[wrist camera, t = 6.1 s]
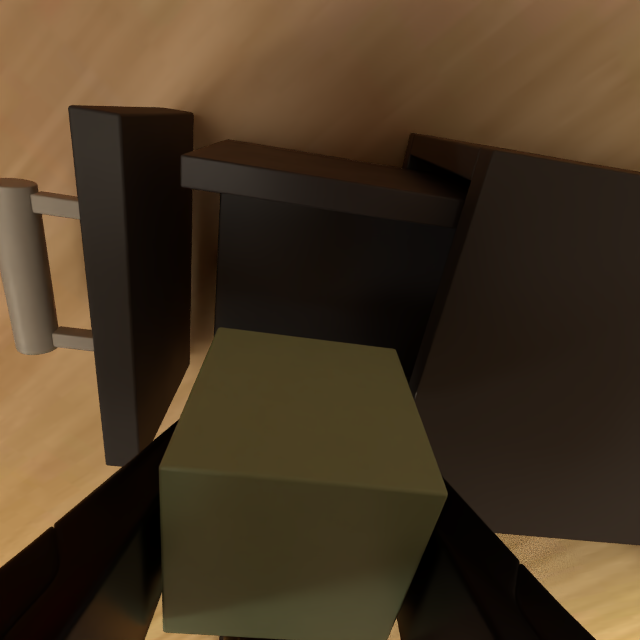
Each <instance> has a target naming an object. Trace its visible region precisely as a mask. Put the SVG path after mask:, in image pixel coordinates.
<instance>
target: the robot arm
mask: <svg viewBox="0 0 640 640" xmlns="http://www.w3.org/2000/svg"><path fill="white" fill-rule="evenodd" d="M178 421H179V420H178ZM178 421H176V422H175V423H174V424H173V425H172V426H170V427H169V428H168V429H167V430H166V431H164V432H163V433H162V434H161V435H160V436H159V437H157V438H156V439H155V440H154V441H153V442H151V443H150V444H149V445H148V446H147V447H145V448H144V449H143V450H142V451H141V452H139V453H138V454H137V455H136V456H135V457H134V458H132V459H131V460H130V461H129V462H128V463H126V464H125V465H124V466H123V467H122V468H120V469H119V470H118V471H117V472H116V473H114V474H113V475H112V476H111V477H110V478H108V479H107V480H106V481H105V482H104V483H103V484H101V485H100V486H99V487H98V488H97V489H95V490H94V491H93V492H92V493H91V494H89V495H88V496H87V497H86V498H85V499H83V500H82V501H81V502H80V503H79V504H77V505H76V506H75V507H74V508H73V509H72V510H70V511H69V512H68V513H67V514H66V515H64V516H63V517H62V518H61V519H60V520H58V521H57V522H56V523H55V524H54V527H50V528H49V529H47V530H46V531H45V532H44V533H43V534H41V535H40V536H39V537H38V538H37V539H35V540H34V541H33V542H32V543H31V544H29V545H28V546H27V547H26V548H24V549H23V550H22V551H21V552H19V553H18V554H17V555H16V556H14V557H13V558H12V559H11V560H10V561H8V562H7V563H6V564H5V565H3V566H2V567H1V568H0V640H145V637H146V634H147V632H148V629H149V626H150V623H151V621H152V618H153V615H154V612H155V610H156V607H157V604H158V601H159V599H160V596H161V593H162V568H161V529H160V490H159V466H160V463H161V461H162V459H163V456H164V454H165V452H166V449H167V447H168V444H169V442H170V440H171V437H172V435H173V433H174V430H175V428H176V426H177V423H178ZM441 476H442V475H441ZM442 479H443V481H444V484H445V487H446V490H447V493H448V495H447V499H446V501H445V503H444V506H443V508H442V511H441V513H440V515H439V518H438V520H437V522H436V525H435V527H434V530H433V532H432V534H431V537H430V539H429V541H428V544H427V546H426V549H425V551H424V553H423V556H422V558H421V560H420V563H419V565H418V568H417V570H416V572H415V575H414V577H413V579H412V582H411V584H410V587H409V589H408V591H407V594H406V596H405V599H404V601H403V603H402V606H401V608H400V610H399V613H398V615H397V621H398V627H399V633H400V638H401V640H596V639H595V638H594V637H593V636H592V635H591V634H590V633H589V632H588V631H587V630H586V629H585V628H584V627H583V626H582V625H581V624H580V623H579V622H578V621H577V620H575V619H574V618H573V617H572V616H571V615H570V614H569V613H568V612H567V611H566V610H565V609H564V608H563V607H562V606H561V604H560V603H559V602H558V601H557V600H556V599H555V598H554V597H553V596H552V595H551V594H550V593H549V592H548V591H547V590H546V589H545V588H544V587H543V586H542V584H541V583H540V582H539V581H538V580H537V579H536V578H535V577H534V576H533V575H532V574H531V573H530V571H529V570H528V569H527V568H526V567H525V566H524V565H523V564H519V563H520V562H519V560H518V559H517V557H516V556H515V555H514V554H513V553H512V552H511V551H510V550H509V549H508V548H507V546H506V545H505V544H504V543H503V542H502V541H501V540H500V539H499V538H498V537H497V536H496V534H495V533H494V532H493V531H492V530H491V529H490V528H489V527H488V526H487V525H486V523H485V522H484V521H483V520H482V519H481V518H480V517H479V516H478V515H477V514H476V513H475V511H474V510H473V509H472V508H471V507H470V506H469V505H468V504H467V503H466V502H465V501H464V499H463V498H462V497H461V496H460V495H459V494H458V493H457V492H456V491H455V490H454V488H453V487H452V486H451V485H450V484H449V483H448V482H447V481H446V480H445V479H444V478H443V476H442ZM219 640H286V639H269V638H252V637H235V636H219Z"/></svg>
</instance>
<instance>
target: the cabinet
mask: <svg viewBox="0 0 640 640" xmlns="http://www.w3.org/2000/svg"><path fill="white" fill-rule="evenodd" d="M402 168H404V169H410V170H416V171H422V172H428V173H434V174H440V175H446V176H453V177H459V178H465V179H468V180H471V183H470V186H469V190H468V193H467V196H466V199H465V203H464V206H463V209H462V212H461V216H460V219H459V222H458V225H457V229H456V232H455V235H454V238H453V242H452V245H451V248H450V251H449V255H448V258H447V261H446V264H445V268H444V271H443V274H442V278H441V281H440V284H439V287H438V291H437V294H436V297H435V300H434V304H433V307H432V310H431V313H430V317H429V320H428V323H427V326H426V330H425V333H424V336H423V339H422V343H421V346H420V349H419V352H418V356H417V359H416V362H415V365H414V369H413V372H412V375H411V379H410V382H409V388H410V390H411V393H412V396H413V399H414V401H415V404H416V407H417V410H418V412H419V415H420V418H421V421H422V424H423V426H424V429H425V432H426V435H427V437H428V440H429V443H430V446H431V448H432V451H433V454H434V457H435V459H436V462H437V465H438V468H439V470H440V473H441V475H442V476H443V478H444V479H445V480H446V481H447V482H448V483H449V484H450V485H451V486H452V487H453V488H454V490H455V491H456V492H457V493H458V494H459V495H460V496H461V497H462V498H463V499H464V501H465V502H466V503H467V504H468V505H469V506H470V507H471V508H472V509H473V510H474V511H475V513H476V514H477V515H478V516H479V517H480V518H481V519H482V520H483V521H484V522H485V523H486V525H487V526H488V527H489V528H490V529H491V530H492V531H493V532H494V533H501V534H513V535H524V536H536V537H548V538H559V539H571V540H583V541H594V542H606V543H618V544H629V545H640V172H636V171H630V170H625V169H619V168H613V167H607V166H602V165H596V164H590V163H584V162H579V161H573V160H567V159H561V158H556V157H550V156H544V155H538V154H533V153H527V152H521V151H515V150H509V149H504V148H498V147H492V146H486V145H481V144H475V143H469V142H463V141H458V140H452V139H446V138H440V137H435V136H429V135H423V134H417V133H411V134H410V137H409V141H408V146H407V150H406V154H405V159H404V163H403V167H402Z"/></svg>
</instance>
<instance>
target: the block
mask: <svg viewBox="0 0 640 640" xmlns="http://www.w3.org/2000/svg"><path fill="white" fill-rule="evenodd" d="M159 490H160V529H161V568H162V607H163V631H164V632H166V633H184V634H201V635H218V636H235V637H252V638H269V639H286V640H387V639H388V637H389V634H390V632H391V629H392V627H393V625H394V622H395V620H396V618H397V615H398V613H399V610H400V608H401V606H402V603H403V601H404V599H405V596H406V594H407V591H408V589H409V587H410V584H411V582H412V579H413V577H414V575H415V572H416V570H417V568H418V565H419V563H420V560H421V558H422V556H423V553H424V551H425V549H426V546H427V544H428V541H429V539H430V537H431V534H432V532H433V530H434V527H435V525H436V522H437V520H438V518H439V515H440V513H441V511H442V508H443V506H444V503H445V501H446V499H447V495H448V493H447V490H446V487H445V484H444V481H443V479H442V476H441V473H440V470H439V468H438V465H437V462H436V459H435V457H434V454H433V451H432V448H431V446H430V443H429V440H428V437H427V435H426V432H425V429H424V426H423V424H422V421H421V418H420V415H419V412H418V410H417V407H416V404H415V401H414V399H413V396H412V393H411V390H410V388H409V385H408V382H407V379H406V377H405V374H404V371H403V368H402V366H401V363H400V360H399V357H398V355H397V352H396V350H395V349H390V348H382V347H374V346H366V345H358V344H350V343H342V342H334V341H326V340H318V339H310V338H302V337H294V336H286V335H278V334H270V333H262V332H254V331H246V330H238V329H230V328H222V327H220V328H218V329H217V331H216V334H215V336H214V339H213V341H212V343H211V346H210V348H209V350H208V353H207V355H206V357H205V360H204V362H203V364H202V367H201V369H200V371H199V374H198V376H197V379H196V381H195V383H194V386H193V388H192V390H191V393H190V395H189V397H188V400H187V402H186V404H185V407H184V409H183V412H182V414H181V416H180V419H179V421H178V423H177V426H176V428H175V430H174V433H173V435H172V437H171V440H170V442H169V444H168V447H167V449H166V452H165V454H164V456H163V459H162V461H161V463H160V466H159Z"/></svg>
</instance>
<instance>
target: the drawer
mask: <svg viewBox="0 0 640 640" xmlns="http://www.w3.org/2000/svg"><path fill="white" fill-rule="evenodd" d="M68 111H69V120H70V130H71V139H72V149H73V158H74V167H75V177H76V186H77V196H78V197H76V196H69V195H62V194H56V193H49V192H42V191H41V192H38V185H37V183H35V182H33V181H29V180H24V179H16V178H0V272H1V277H2V281H3V286H4V291H5V296H6V301H7V306H8V311H9V316H10V321H11V325H12V330H13V335H14V340H15V345H16V349H17V350H18V351H19V352H20V353H22V354H27V355H39V354H44V353H48V352H51V351H53V350H55V349H56V348H58V347H61V348H69V349H78V350H86V351H94V356H95V365H96V374H97V384H98V393H99V403H100V412H101V421H102V431H103V440H104V450H105V459H106V465H110V466H121V467H123V466H124V465H125V464H126V463H128V462H129V461H130V460H131V459H132V458H134V457H135V456H136V455H137V454H138V453H139V452H141V451H142V450H143V449H144V448H145V447H147V446H148V445H149V444H150V443H151V442H153V440H154V437H155V435H156V433H157V431H158V429H159V427H160V425H161V423H162V421H163V419H164V417H165V414H166V412H167V410H168V408H169V406H170V404H171V402H172V400H173V398H174V396H175V393H176V391H177V389H178V387H179V385H180V383H181V381H182V379H183V377H184V375H185V372H186V370H187V368H188V366H189V364H190V312H191V248H192V189H196V190H203V191H209V192H216V193H220V213H219V235H218V257H217V279H216V301H215V323H214V336H215V334H216V331H217V329H218V328H220V327H222V328H230V329H238V330H246V331H254V332H262V333H270V334H278V335H286V336H294V337H302V338H310V339H318V340H326V341H334V342H342V343H350V344H358V345H366V346H374V347H382V348H390V349H395V350H396V352H397V355H398V357H399V360H400V363H401V366H402V368H403V371H404V374H405V377H406V379H407V382H408V385H409V382H410V379H411V375H412V372H413V369H414V365H415V362H416V359H417V356H418V352H419V349H420V346H421V343H422V339H423V336H424V333H425V330H426V326H427V323H428V320H429V317H430V313H431V310H432V307H433V304H434V300H435V297H436V294H437V291H438V287H439V284H440V281H441V278H442V274H443V271H444V268H445V264H446V261H447V258H448V255H449V251H450V248H451V245H452V242H453V238H454V235H455V232H456V229H457V225H458V222H459V219H460V216H461V212H462V209H463V206H464V203H465V199H466V196H467V193H468V190H469V186H470V183H471V180H468V179H465V178H459V177H453V176H446V175H440V174H434V173H428V172H422V171H416V170H410V169H404V168H398V167H392V166H386V165H380V164H374V163H368V162H362V161H356V160H350V159H344V158H338V157H331V156H325V155H319V154H313V153H307V152H301V151H295V150H289V149H283V148H277V147H271V146H265V145H259V144H253V143H247V142H241V141H235V140H229V139H228V140H225V141H221V142H218V143H215V144H212V145H209V146H206V147H203V148H200V149H197V150H194V151H193V121H194V115H193V113H191V112H186V111H180V110H174V109H168V108H156V107H118V106H81V105H71V106H69V108H68ZM42 214H46V215H53V216H59V217H66V218H73V219H80V224H81V233H82V243H83V252H84V261H85V271H86V280H87V290H88V299H89V308H90V318H91V327H92V330H87V329H79V328H70V327H62V326H61V327H59V328H58V321H57V315H56V308H55V301H54V294H53V287H52V281H51V274H50V267H49V260H48V253H47V247H46V240H45V233H44V226H43V219H42Z"/></svg>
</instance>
